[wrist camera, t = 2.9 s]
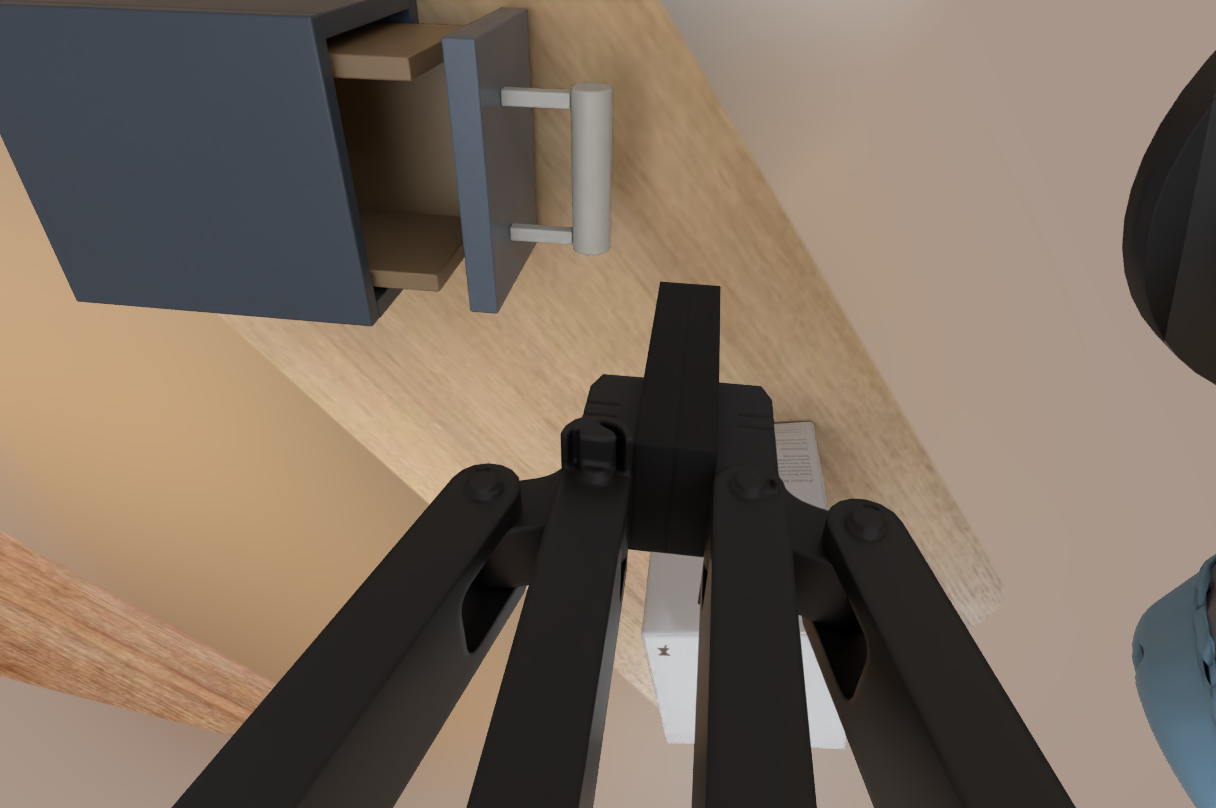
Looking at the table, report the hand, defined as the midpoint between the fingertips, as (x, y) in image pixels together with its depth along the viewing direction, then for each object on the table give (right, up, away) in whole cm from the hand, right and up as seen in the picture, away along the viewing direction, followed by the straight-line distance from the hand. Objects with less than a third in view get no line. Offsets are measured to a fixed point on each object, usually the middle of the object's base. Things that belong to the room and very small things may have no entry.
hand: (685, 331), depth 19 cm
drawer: (-10, +11, +15) cm, 21 cm away
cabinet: (-17, +12, +17) cm, 27 cm away
